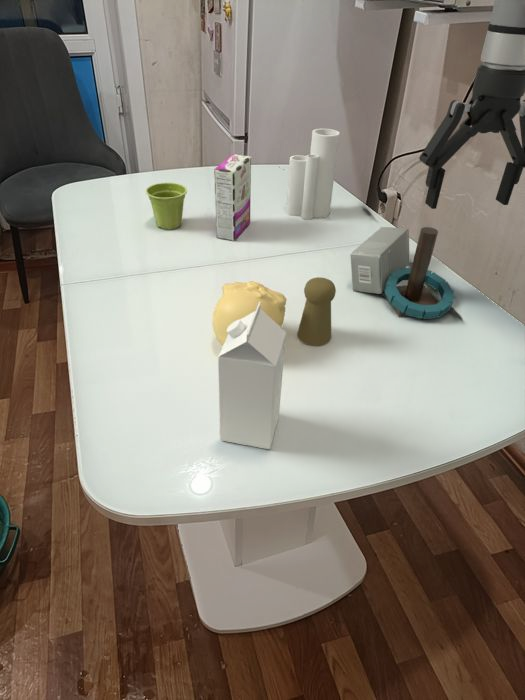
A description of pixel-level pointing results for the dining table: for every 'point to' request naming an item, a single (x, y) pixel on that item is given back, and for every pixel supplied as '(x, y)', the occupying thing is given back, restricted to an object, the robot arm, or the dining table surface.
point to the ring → (415, 308)
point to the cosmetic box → (379, 259)
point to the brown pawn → (317, 312)
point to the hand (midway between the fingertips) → (466, 204)
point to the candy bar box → (232, 196)
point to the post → (419, 272)
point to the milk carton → (251, 380)
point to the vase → (313, 177)
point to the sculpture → (245, 305)
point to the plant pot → (167, 204)
